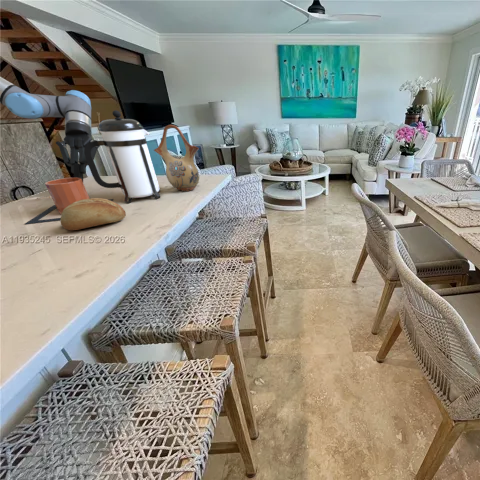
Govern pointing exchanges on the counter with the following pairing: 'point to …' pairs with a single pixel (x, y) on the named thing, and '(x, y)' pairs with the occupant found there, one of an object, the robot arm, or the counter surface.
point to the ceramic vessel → (179, 164)
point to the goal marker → (36, 219)
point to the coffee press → (126, 158)
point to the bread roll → (91, 213)
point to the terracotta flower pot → (66, 191)
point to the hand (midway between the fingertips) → (78, 181)
